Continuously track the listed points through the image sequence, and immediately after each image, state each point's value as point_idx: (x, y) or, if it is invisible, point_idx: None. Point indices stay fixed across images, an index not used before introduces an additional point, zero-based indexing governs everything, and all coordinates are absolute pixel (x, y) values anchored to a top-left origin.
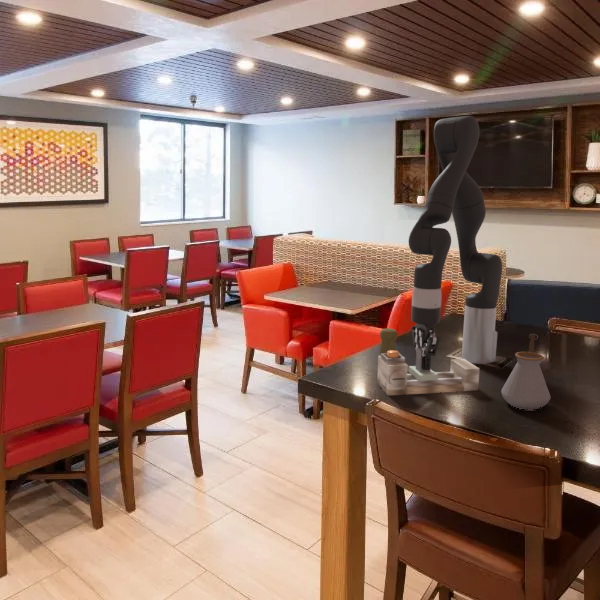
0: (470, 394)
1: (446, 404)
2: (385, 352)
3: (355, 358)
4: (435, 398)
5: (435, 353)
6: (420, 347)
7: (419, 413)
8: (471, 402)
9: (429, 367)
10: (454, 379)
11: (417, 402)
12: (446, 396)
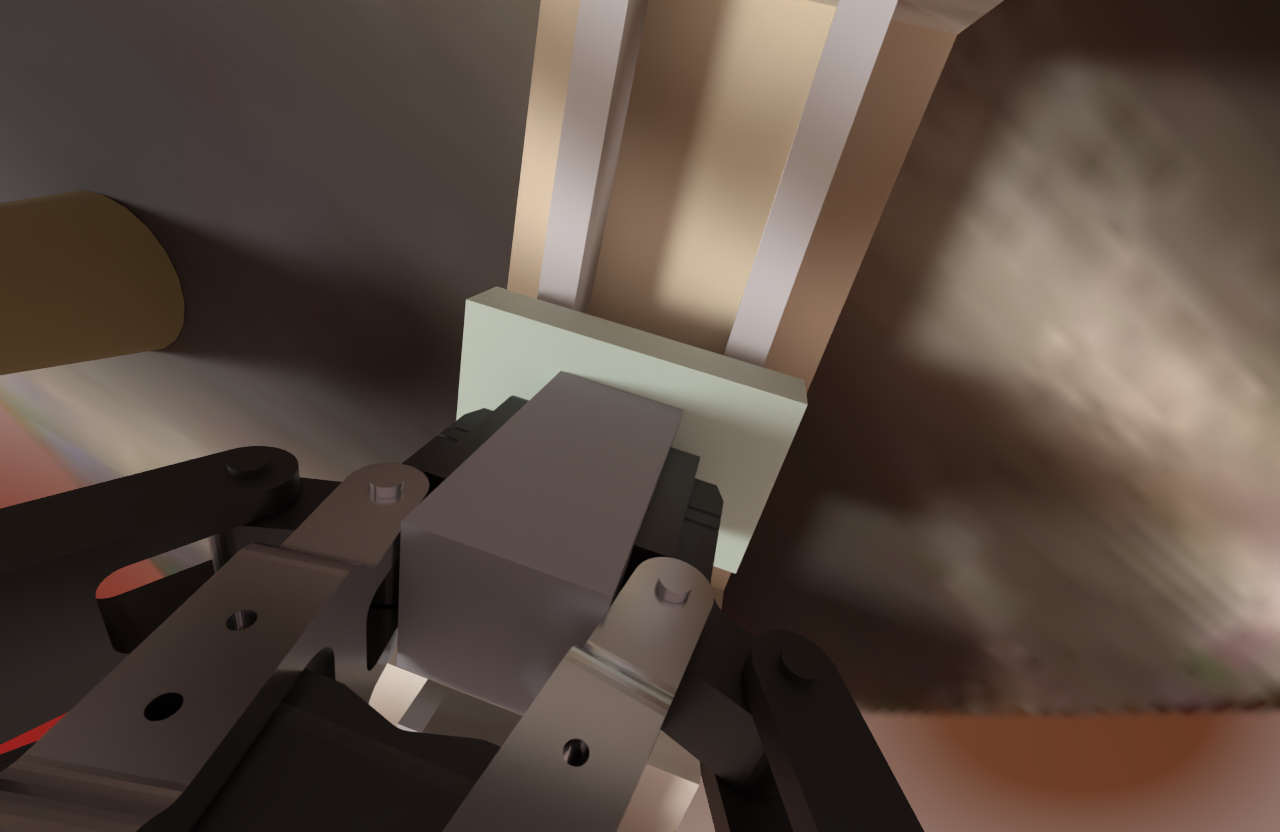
0: (1064, 41)
1: (1079, 464)
2: (28, 360)
3: (17, 395)
4: (911, 447)
5: (854, 706)
6: (414, 629)
7: (1058, 708)
8: (1244, 218)
9: (719, 498)
10: (849, 128)
11: (892, 598)
12: (934, 335)
